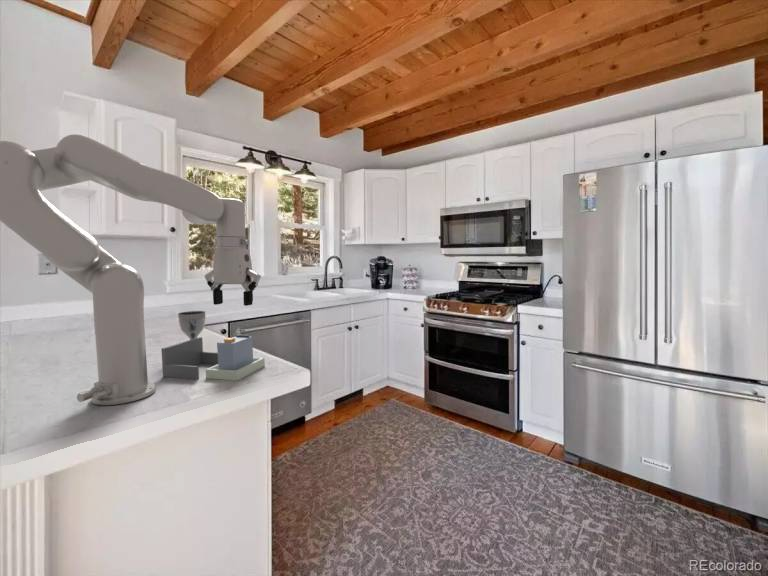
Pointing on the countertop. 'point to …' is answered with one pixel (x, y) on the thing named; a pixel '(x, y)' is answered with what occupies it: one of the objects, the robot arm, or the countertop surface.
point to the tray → (235, 371)
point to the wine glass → (192, 323)
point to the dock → (186, 359)
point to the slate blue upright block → (235, 352)
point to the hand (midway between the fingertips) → (233, 304)
